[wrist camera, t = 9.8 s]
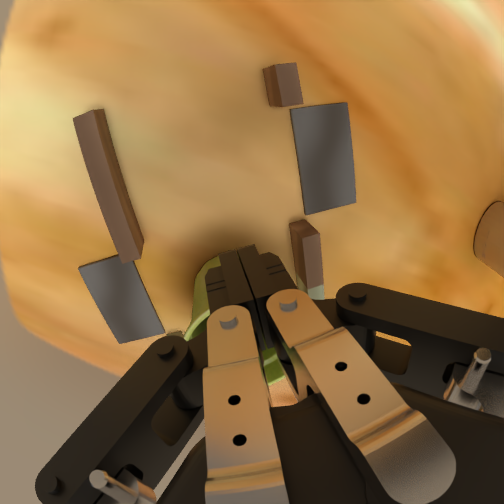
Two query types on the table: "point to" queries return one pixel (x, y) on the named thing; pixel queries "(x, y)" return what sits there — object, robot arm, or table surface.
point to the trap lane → (302, 232)
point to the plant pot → (203, 313)
